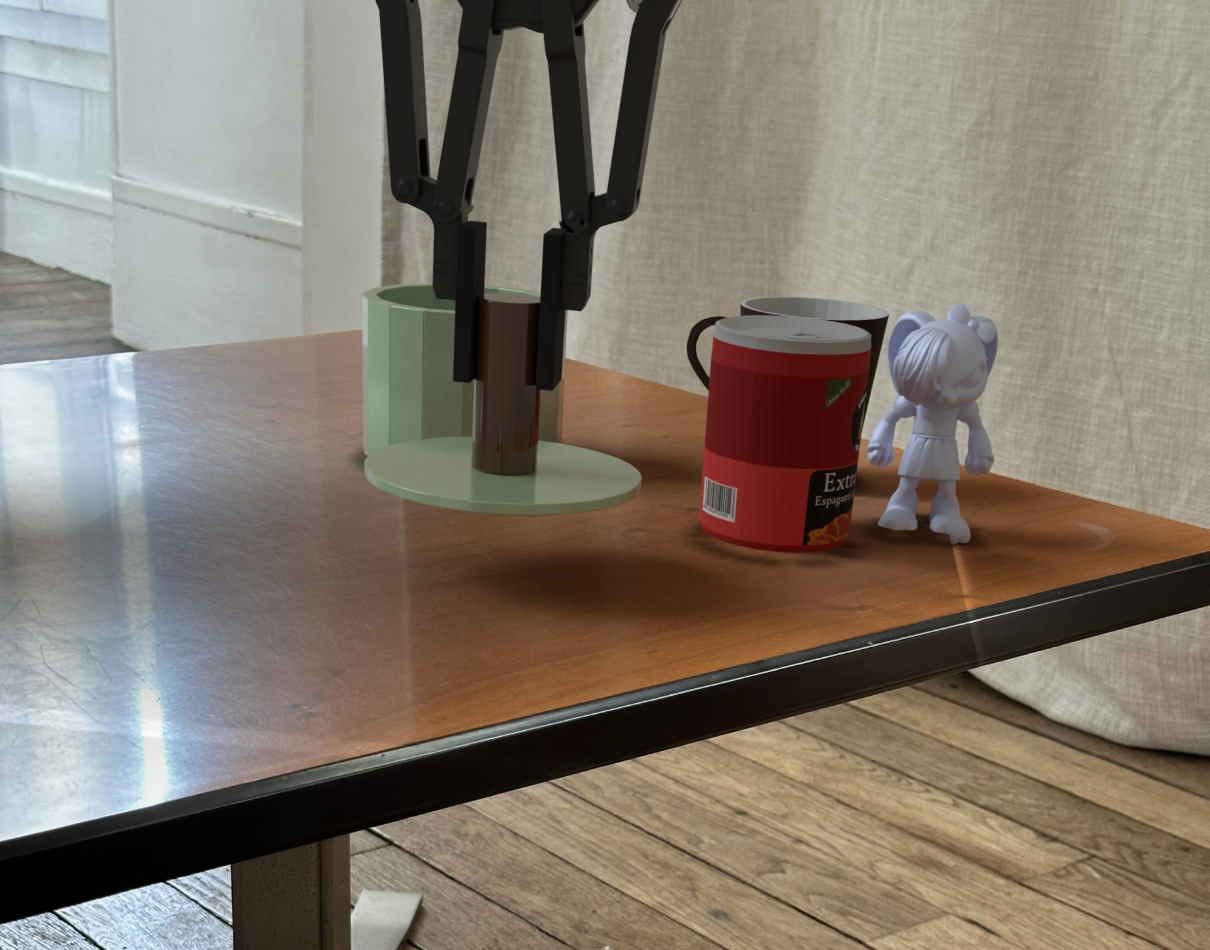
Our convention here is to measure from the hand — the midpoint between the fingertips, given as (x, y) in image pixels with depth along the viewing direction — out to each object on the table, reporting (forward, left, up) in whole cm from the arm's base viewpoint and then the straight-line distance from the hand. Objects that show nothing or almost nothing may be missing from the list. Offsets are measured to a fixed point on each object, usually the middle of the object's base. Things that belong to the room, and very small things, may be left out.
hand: (508, 379), depth 76 cm
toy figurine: (+20, +17, -10) cm, 28 cm away
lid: (0, 0, -4) cm, 4 cm away
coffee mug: (+12, +28, -10) cm, 32 cm away
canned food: (+12, +12, -10) cm, 20 cm away
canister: (-7, +24, -10) cm, 27 cm away
